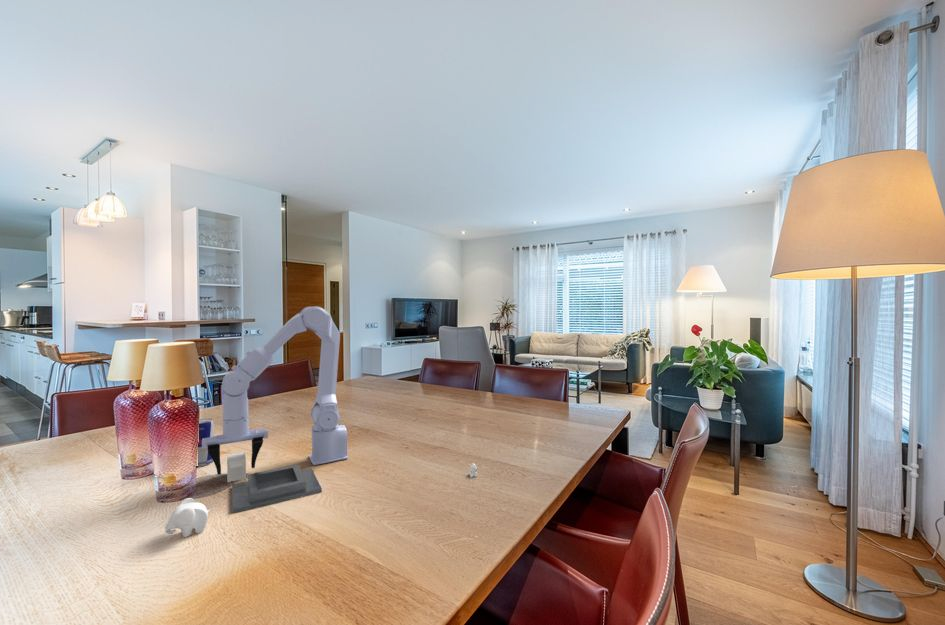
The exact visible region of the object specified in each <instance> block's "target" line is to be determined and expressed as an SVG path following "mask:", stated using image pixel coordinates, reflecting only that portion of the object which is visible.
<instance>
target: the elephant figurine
mask: <svg viewBox="0 0 945 625" xmlns="http://www.w3.org/2000/svg"><path fill="white" fill-rule="evenodd" d="M213 509H215V506H214V507H212V508H211V509H207V507H206V505H205V504H203V503H202V502H196V501H195V500H194V499H193V498H192V497H189V498H184V499H183V500H181V501H180V502H179V504H178V505H177V507H175V509H173V511H172V512H171V515H170V517H169V519H168V521H167V522H166V524H165V527H164V529H165V531H164V533H166V534H167V535H173V534H175V533H176V531H177V529H179V530H180V531H181V533H182V537H184V538H188V537H190V536H191V535H192V532H193V529H194V531H195V534H201V533H203V532H204V531H205V528H206V527H207V523H208V518H209V515H208V514H209V512H211V511H212V510H213Z"/></svg>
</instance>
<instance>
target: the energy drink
mask: <svg viewBox="0 0 945 625" xmlns="http://www.w3.org/2000/svg"><path fill="white" fill-rule="evenodd" d="M198 420H199V442H198V467H197V468H199V467H205V466H209V465H211V464H213V463H214V461H213V459H212V458H211V456H210V455H209V453H208V447H207V448H202V439H203V438H209V437H214V436H215V428H214V426H215V423H214V419H213V418H199V419H198ZM210 463H211V464H210ZM208 464H209V465H208Z"/></svg>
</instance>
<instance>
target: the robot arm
mask: <svg viewBox="0 0 945 625" xmlns="http://www.w3.org/2000/svg"><path fill="white" fill-rule="evenodd" d="M307 330H310V331H312V332H313V333H315V335H316V336H317V337H318V338H319V339H321V345H320V357H319V358H320V359H319V367H318V368H319V369H318V382H317V392H316V397H315V400H314V401H315V402H314V405H313V407H311V410H310V417H311V419H312V420H313V421H314V423H313V425H312V427H311V454H309V455H308V459H309V460H310V462H311V464H312V466H317V465H323V464H328V463H331V462H336V461H342V460H347V459H348V458H349V456H348V432H347V427H346V425H344V424H339V422H340V419H341V417H340V415H341V414H340V413H339V409H338V400H337V395H336V393H337V382H338V380H337V379H338V370H339V368H338V367H339V354H340V343H341V342H340V341H341V333H340V331H339V329H338V328H337V326H336V324H335V322H334V321H333V318H332V315H331V314H330V313H329V312H328V311H327V310H326V309H324V308H322V307H320V306H306V307H304V308H302V310H300V312H298V313H296V314H295V315H294V316H292V317H291V318H290V319H289V320H288V321H286V323H284V325H283V326H282V327H281V328H280V329H279V330H278V331H277V332H275V334H274V335H273V336H272V337H271V338H270V339H269V340H268V341H267V342H266V344H265V345H264V346H262V347H255V348H253V349H252V350H250V349H249V350H248V351H247V352H245V354H246V356H245V357H244V358H243V359H242V360H240V362H239V363H237V365H235V364H234V365H233V366H232V367H231V370H232V371H229V372H227V373H225V374H224V375H225V376H224V377H223V378H222V382H221V385H222V386H221V387H222V390H223V394H222V398H223V401H222V434H219V435H214V437H209V438H203V439H202V448H207V447H208V453H209V455H210V456H211V458H212V459H213V463H214V465H215V468H216V472H217V473H216V474H217V476H219V475H222V465H221V464H222V463H221V445H226V444H233V443H239V442H246V441H251V462H250V463H251V469H255V468H256V462H257V457H258V455H259V453H260V450H261V448H262V446H263V443H264V439H268V438H269V430H268V428H266V429H254V430H253V429H252V430H250V427H249V425H250V424H249V423H250V422H249V419H250V417H249V416H250V415H249V398H248V391H249V388H250V382H252V381H255V380H256V379H257V378H258V377H259V376H260V375H261V374H262V373H263V372H264V371H265V370H266V369H267V368H268V367H269V366H270V365H271V364H272V363H273V355H274V354H275V353H276V352H277V351H278V350H279V349H280V348H281V347H283V346H284V345H285V344H286V343H287V342H288V341H289V340H290V339H292V337H294V336H295V335H296V334H300V333H304V332H307Z"/></svg>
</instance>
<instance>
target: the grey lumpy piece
mask: <svg viewBox="0 0 945 625" xmlns="http://www.w3.org/2000/svg"><path fill="white" fill-rule="evenodd" d="M468 465H469V466H470V467H469V469H470V470H469V471H468V474H467V475H468V476H469V478H470V479H471V478H473V477H475V478H476V477H478V474H479V473H478V468H477V465H476V464H475V463H473V462H472V464H470V463H469V464H468Z"/></svg>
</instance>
